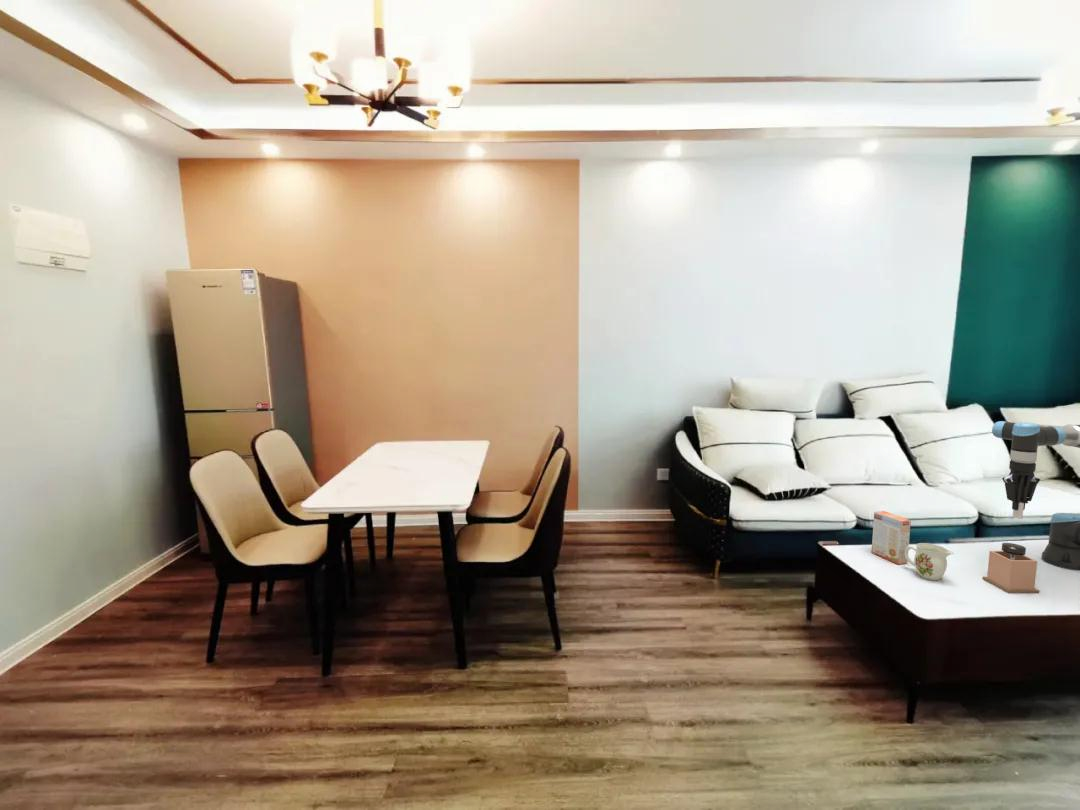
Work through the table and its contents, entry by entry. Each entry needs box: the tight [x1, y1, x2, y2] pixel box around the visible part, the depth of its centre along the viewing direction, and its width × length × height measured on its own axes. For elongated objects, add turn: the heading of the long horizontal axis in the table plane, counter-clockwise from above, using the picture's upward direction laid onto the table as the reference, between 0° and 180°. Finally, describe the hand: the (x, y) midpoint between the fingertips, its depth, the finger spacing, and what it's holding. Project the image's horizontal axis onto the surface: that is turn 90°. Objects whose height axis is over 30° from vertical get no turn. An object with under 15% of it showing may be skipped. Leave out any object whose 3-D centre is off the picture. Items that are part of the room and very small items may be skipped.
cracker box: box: [871, 510, 912, 565], centre depth 228 cm, size 14×6×21 cm, turn 12°
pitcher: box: [905, 542, 955, 581], centre depth 210 cm, size 11×18×14 cm, turn 25°
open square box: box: [982, 550, 1040, 594], centre depth 200 cm, size 12×12×13 cm
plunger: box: [1001, 542, 1027, 560], centre depth 200 cm, size 8×8×15 cm
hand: (1017, 517), depth 198 cm, fingers closed
